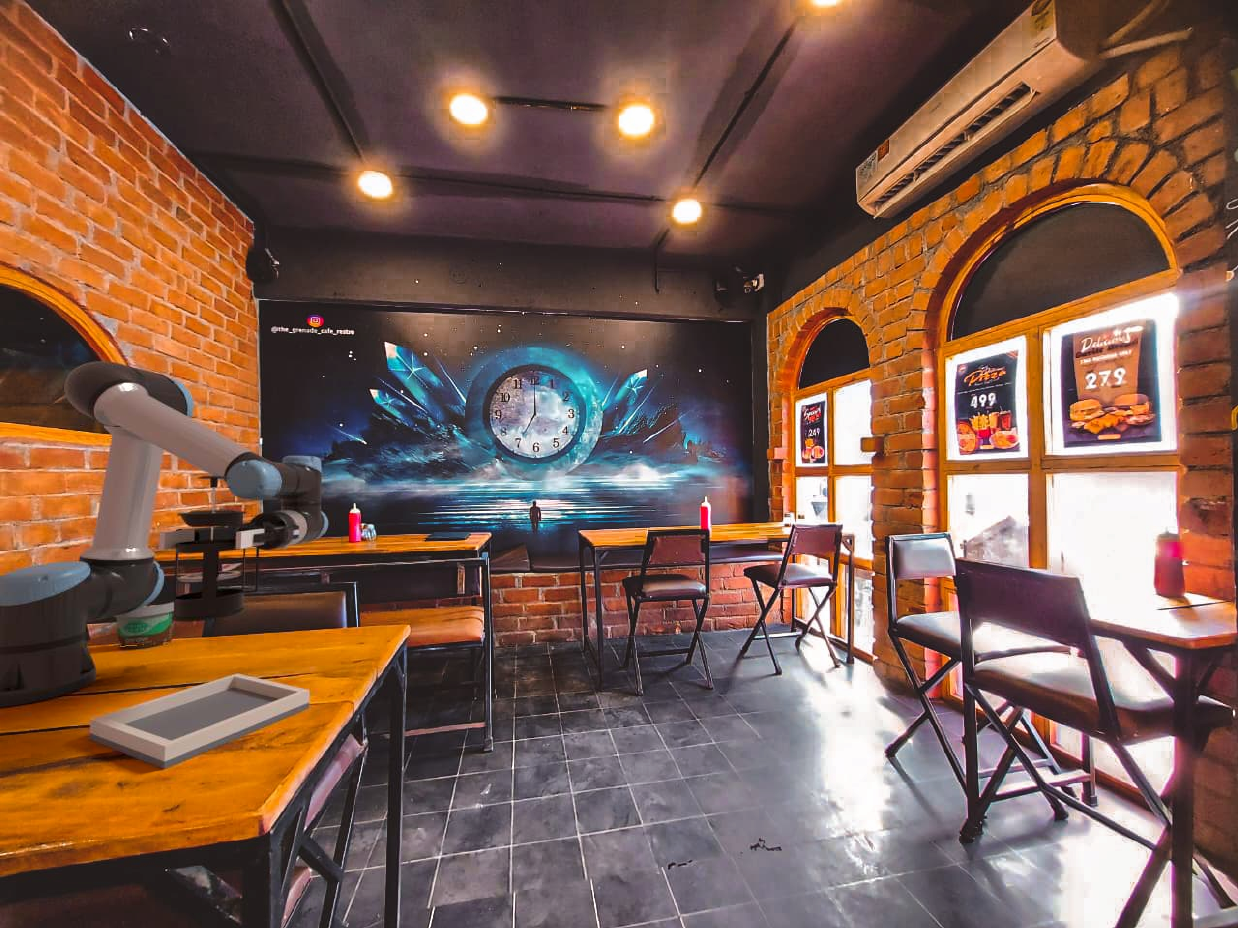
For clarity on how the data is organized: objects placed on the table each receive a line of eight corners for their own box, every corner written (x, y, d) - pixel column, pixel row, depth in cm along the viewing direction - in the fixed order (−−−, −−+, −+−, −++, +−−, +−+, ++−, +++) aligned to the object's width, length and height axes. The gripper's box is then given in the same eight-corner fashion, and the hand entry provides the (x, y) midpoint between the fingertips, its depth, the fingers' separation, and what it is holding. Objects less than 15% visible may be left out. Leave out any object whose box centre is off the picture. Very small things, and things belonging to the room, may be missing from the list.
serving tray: (89, 739, 75) (90, 719, 75) (236, 689, 94) (237, 673, 94) (164, 769, 67) (165, 746, 67) (309, 707, 86) (309, 690, 86)
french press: (162, 626, 75) (167, 474, 76) (169, 613, 82) (174, 476, 83) (258, 613, 82) (261, 475, 83) (256, 603, 89) (260, 476, 90)
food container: (102, 655, 113) (105, 611, 114) (111, 648, 118) (113, 605, 119) (174, 646, 120) (176, 604, 120) (179, 639, 125) (181, 599, 125)
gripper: (336, 547, 102) (277, 563, 80) (214, 548, 99) (118, 565, 77) (337, 511, 102) (279, 516, 80) (216, 511, 99) (121, 517, 77)
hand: (200, 540), depth 78 cm, fingers closed on french press, 10 cm apart
